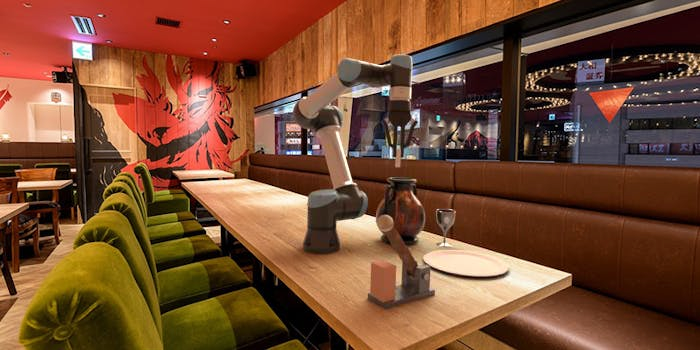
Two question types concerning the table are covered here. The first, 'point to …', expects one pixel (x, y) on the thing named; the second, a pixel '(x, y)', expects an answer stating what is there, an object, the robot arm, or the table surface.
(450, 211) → the wine glass
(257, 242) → the table surface
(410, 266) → the lever
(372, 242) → the table surface
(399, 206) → the amphora vase
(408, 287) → the press base
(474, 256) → the plate
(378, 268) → the stop block
